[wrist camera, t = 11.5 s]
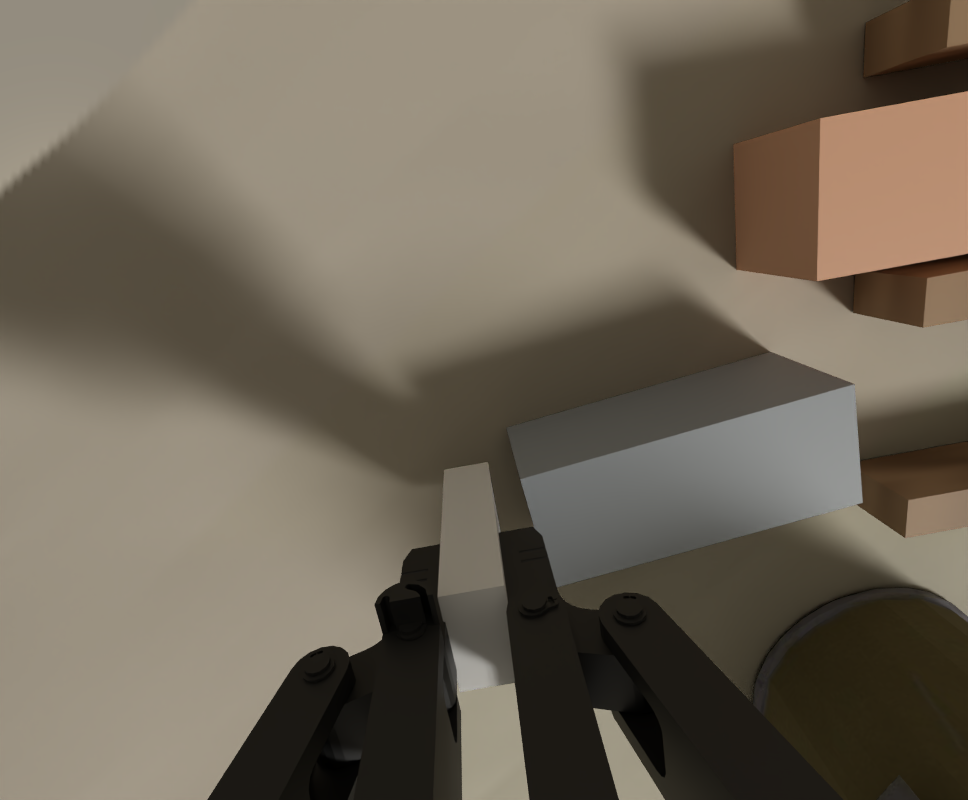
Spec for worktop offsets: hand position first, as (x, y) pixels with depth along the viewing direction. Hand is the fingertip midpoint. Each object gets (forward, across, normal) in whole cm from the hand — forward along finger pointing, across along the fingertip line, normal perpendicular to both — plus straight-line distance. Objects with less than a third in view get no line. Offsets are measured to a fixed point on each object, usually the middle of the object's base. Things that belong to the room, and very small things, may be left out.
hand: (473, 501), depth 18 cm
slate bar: (+2, +7, 0) cm, 7 cm away
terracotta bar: (+2, +15, +8) cm, 17 cm away
